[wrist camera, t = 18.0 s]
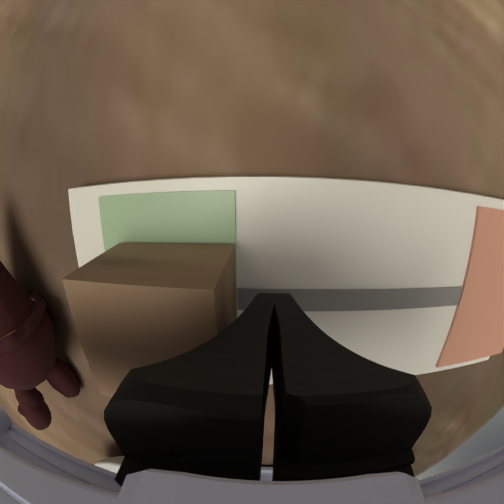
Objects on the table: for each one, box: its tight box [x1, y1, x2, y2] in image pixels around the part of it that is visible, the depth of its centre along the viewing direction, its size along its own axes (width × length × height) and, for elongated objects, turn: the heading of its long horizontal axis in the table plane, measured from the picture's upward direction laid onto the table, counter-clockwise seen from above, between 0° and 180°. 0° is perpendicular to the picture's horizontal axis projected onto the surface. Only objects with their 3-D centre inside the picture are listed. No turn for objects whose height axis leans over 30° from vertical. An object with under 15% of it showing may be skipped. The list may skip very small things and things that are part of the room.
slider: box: [62, 243, 237, 397], centre depth 10 cm, size 5×5×4 cm
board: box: [68, 176, 504, 384], centre depth 12 cm, size 10×25×1 cm, turn 90°
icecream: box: [0, 261, 80, 430], centre depth 12 cm, size 7×7×15 cm
